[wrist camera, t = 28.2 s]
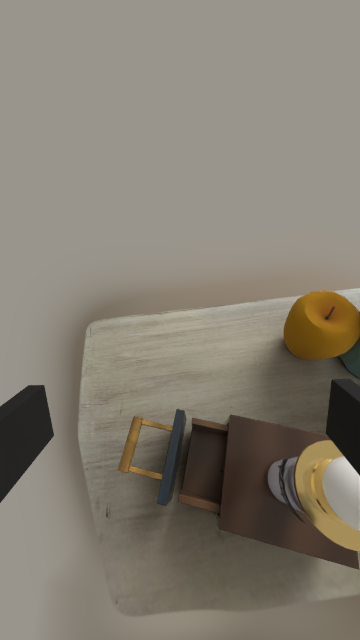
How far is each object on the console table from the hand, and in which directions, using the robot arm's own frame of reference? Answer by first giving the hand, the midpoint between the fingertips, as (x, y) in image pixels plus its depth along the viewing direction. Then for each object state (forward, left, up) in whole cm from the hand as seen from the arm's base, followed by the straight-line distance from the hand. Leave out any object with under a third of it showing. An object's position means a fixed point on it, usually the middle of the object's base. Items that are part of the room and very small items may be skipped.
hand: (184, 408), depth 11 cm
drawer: (-1, -1, -32) cm, 32 cm away
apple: (+28, +8, -33) cm, 44 cm away
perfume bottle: (+9, -8, -24) cm, 27 cm away
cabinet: (+9, -8, -33) cm, 35 cm away
